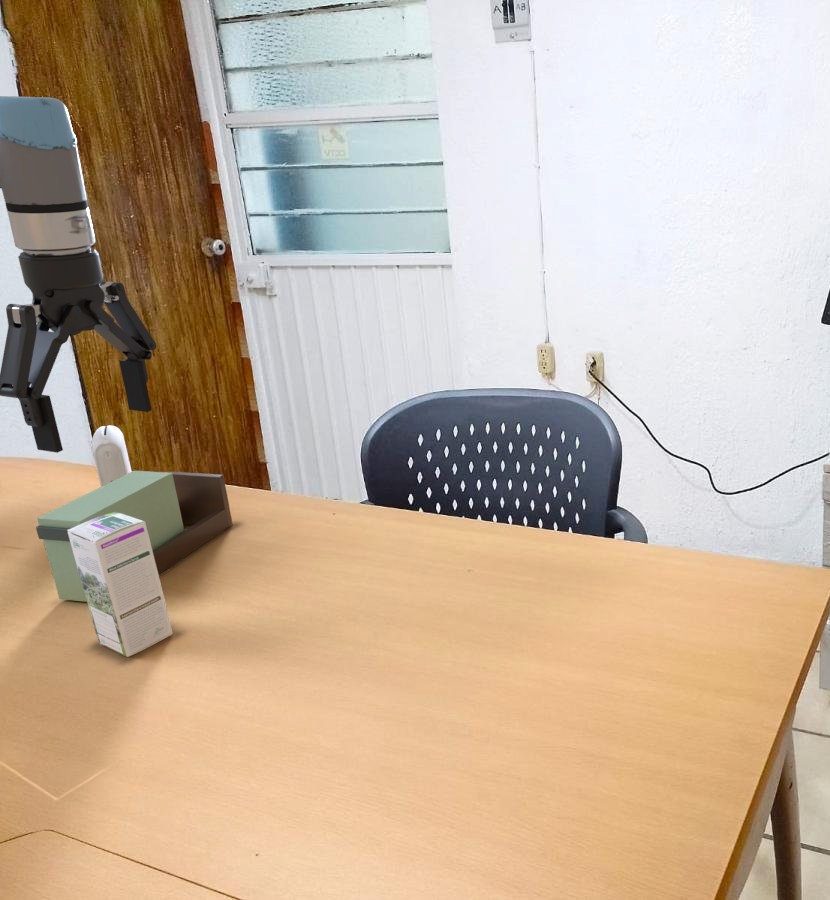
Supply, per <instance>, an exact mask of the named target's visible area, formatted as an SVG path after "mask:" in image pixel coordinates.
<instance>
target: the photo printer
mask: <svg viewBox="0 0 830 900" xmlns="http://www.w3.org/2000/svg"><path fill="white" fill-rule="evenodd" d="M91 451H92V456H93V460H94V463H95V468H96V472H97V476H98V480H99V484H100V487H102V486H104V485H106V484H108V483H110V482H112V481H114V480H116V479H118V478H120V477H122V476H124V475H126V474H128V473H130V472H132V471H133V470H132V467H131V463H130V458H129V454H128V449H127V446H126V441H125V437H124V433H123V432H122V431H121V429H120V428H119V427H117V426H115V425H111V424H108V425H107V426H106V425H102V426H100V427H98V428H97V429H96V430H95V432H94V433H93V436H92V440H91Z"/></svg>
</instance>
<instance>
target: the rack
mask: <svg viewBox="0 0 830 900" xmlns="http://www.w3.org/2000/svg"><path fill="white" fill-rule="evenodd" d="M167 473H172V475H173V480H174V484H175V489H176V494H177V498H178V503H179V508H180V513H181V517H182V522H183V525H191V526H189V527H188V528H186V529H184V531H183V532H181V533H180V534H178V535H177V536H175V537H173V538H172V539H170V540H169V541H167V542H166V543H164V544H162V545H161V546H159V547H158V548H156V549H154V550H153V555H154V559H155V563H156V567H157V571H158V575H159V576H160V574H162V573H164V572H165V571H167V570H169V568H171V567H172V566H174V565H176V564H177V563H178V562H181V560H183V559H184V558H185V557H187V556H189V555H190V554H192V553H193V552H194V551H196V550H197V549H199V548H200V547H202V546H204V545H205V544H206V543H208V542H209V541H211V540H212V539H214V538H216V537H217V536H218V535H220V534H221V533H222V532H224V531H226V530H227V529H229V528H230V527H232V526H233V525H234V524H233V518H232V513H231V508H230V503H229V499H228V493H227V487H226V482H225V477H224V474H218V473H217V474H216V473H201V472H199V473H198V472H183V471H167Z"/></svg>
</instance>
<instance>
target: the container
mask: <svg viewBox="0 0 830 900" xmlns="http://www.w3.org/2000/svg"><path fill="white" fill-rule="evenodd" d="M131 471H132V472H130V473H128V474H126V475H124V476H122V477H120V478H118V479H116V480H114V481H112V482H110V483H108V484H106V485H104V486H102V487H101V486H100V487H98V488H96V489H94V490H91V491H90V492H88V493H85V494H83V495H81V496H79V497H77V498H75V499H73V500H71V501H69V502H67V503H65V504H63V505H61V506H59V507H57V508H55V509H53V510H51V511H49V512H47V513H45V514H43V515H41V516H39V517H37V518H36V519H37V523H38V525H37V526H36V527H35V530H36V532H37V537H38V539H39V540H42V541H43V545H44V548H45V552H46V556H47V559H48V563H49V567H50V570H51V573H52V574H51V575H52V577H53V581H54V584H55V589H56V591H57V595H58V599H59V600H66V601H75V602H85V603H87V600H86V596H85V593H84V589H83V585H82V582H81V578H80V575H79V571H78V568H77V564H76V561H75V557H74V554H73V550H72V546H71V543H70V539H69V536H68V531H67V530H69V529H72V528H74V527H76V526H78V525H80V524H82V523H84V522H87V521H89V520H92V519H94V518H97V517H100V516H103V515H106V514H110V513H114V512H118V513H121V514H124V515H127V516H130V517H133V518H136V519H139V520H142V521H145V523H146V527H147V531H148V535H149V539H150V543H151V547H152V551H153V550H154V549H156V548H158V547H159V546H161V545H162V544H164V543H166V542H167V541H169V540H170V539H172V538H173V537H175V536H177V535H178V534H180V533H181V532H183V531H185V527H184V524H183V522H182V517H181V513H180V508H179V503H178V498H177V494H176V489H175V484H174V480H173V475H172V473H168V472H166V471H165V472H164V471H148V470H131Z"/></svg>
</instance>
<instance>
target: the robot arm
mask: <svg viewBox="0 0 830 900" xmlns="http://www.w3.org/2000/svg"><path fill="white" fill-rule="evenodd" d="M77 144H78V140H77V137H76V134H75V133H74V130H73V127H72V123H71V119H70V114H69V111H68V108H67V106H66V104H65V103H64V102H62V101H61V100H60V99H58V98H55V97H48V96H47V97H46V96H45V97H44V96H43V97H42V96H41V97H38V96H17V95H16V96H15V95H14V96H13V95H12V96H11V95H10V96H8V95H7V96H5V95H4V96H3V95H0V190H1V191H2V196H3V200H4V203H5V209H6V212H7V216H8V220H9V224H10V230H11V233H12V239H13V242H14V246H15V248H17V249H18V250H22V252H20V253H19V255H18V257H17V258H18V262H19V266H20V270H21V275H22V278H23V282H24V284H25V286H26V287H27V288H28V289H29V291H30V292H31V295H32V300H31V303H28V304H17V303H8V304H7V305H6V308H5V311H6V318H7V326H8V327H7V331H6V332H7V333H6V338H5V343H4V349H3V355H2V360H1V366H0V397H6V398H13V399H18V400H19V404H20V407H21V411H22V415H23V420H24V423H25V424H26V425H27V426H28V427H31V429H32V433H33V437H34V441H35V445H36V449H37V451H44V452H49V453H56V454H59V453H61V452H62V451H64V448H63V445H62V441H61V436H60V433H59V429H58V424H57V420H56V416H55V412H54V408H53V403H52V400H51V399H52V398H51V396H50V395H49V394H43V392H44V390H45V387H46V385H47V382H48V380H49V378H50V375H51V373H52V370H53V368H54V365H55V362H56V361H57V357H58V356H59V353H60V350H61V348H62V346H63V345H64V344H65V343H67V342H68V340H69V337H74V336H76V335H79V334H80V333H82V332H87V331H88V332H90V331H94V332H96V333H97V334H98V335H99V336H100V337H102V339H104V340H105V341H106V342H107V343H109V344H110V345H111V346H112V347H113V348H114V349H115V350H117V351H118V352H119V353H120V354H121V355H122V356H124V357H125V358H122V359H119V360H118V362H119V367H120V371H121V372H120V373H121V378H122V382H123V387H124V391H125V396H126V400H127V406H128V410H129V411H136V412H137V411H138V412H143V413H149V412H150V411H152V405H151V400H150V395H149V389H148V384H147V383H149V375H148V371H147V365H146V361H149V360H151V359H152V358H153V353H152V351H155V350H156V348H157V343H156V341H155V340H154V337H153V336H152V334H150V332H149V330H148V329H147V327H146V326H145V324H144V323H143V321H142V319H141V318H140V317H139V314H137V312H136V310H135V308H134V306H133V305H132V304H131V302H130V301H129V299H128V296H127V292H126V289H125V286H124V284H123V283H122V282H118V281H108V280H107V281H106V280H104V274H103V268H102V263H101V259H100V254H99V251H97V250H96V249H95V248H93V247H92V246H94V245H95V244H96V237H95V232H94V228H93V227H94V225H93V222H92V218H91V212H90V208H89V203H88V197H87V192H86V187H85V181H84V177H83V171H82V166H81V160H80V155H79V150H78V145H77ZM104 305H105V307H106V308H107V310H108V311H109V313H108V312H107V311H106V310H105V309H104V308H103V306H104ZM50 330H51V331H50Z"/></svg>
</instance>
